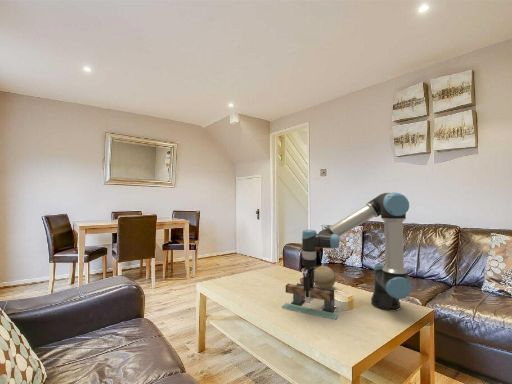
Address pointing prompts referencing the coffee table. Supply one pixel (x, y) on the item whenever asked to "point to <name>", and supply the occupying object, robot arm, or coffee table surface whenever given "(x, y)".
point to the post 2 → (329, 304)
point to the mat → (311, 311)
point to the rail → (313, 292)
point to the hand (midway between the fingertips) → (308, 301)
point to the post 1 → (298, 298)
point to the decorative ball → (324, 277)
